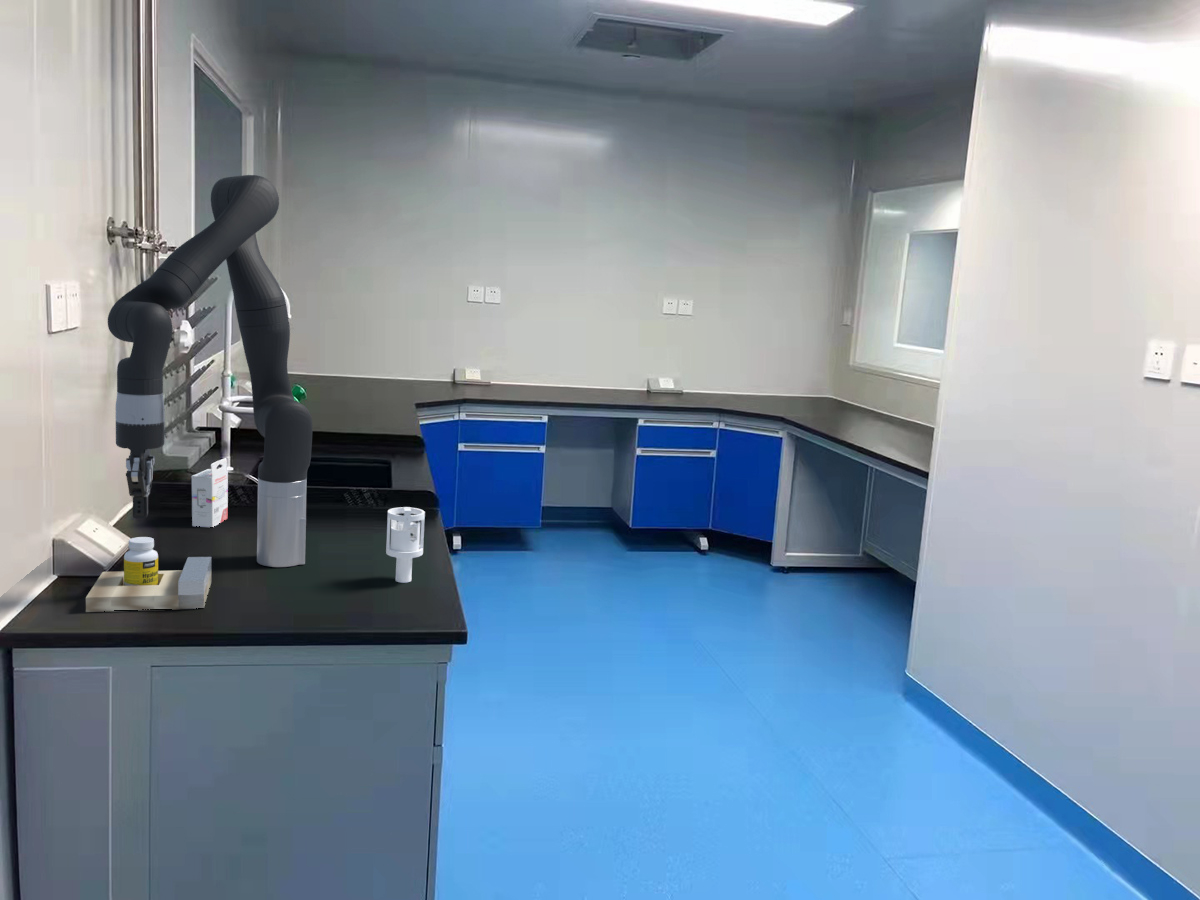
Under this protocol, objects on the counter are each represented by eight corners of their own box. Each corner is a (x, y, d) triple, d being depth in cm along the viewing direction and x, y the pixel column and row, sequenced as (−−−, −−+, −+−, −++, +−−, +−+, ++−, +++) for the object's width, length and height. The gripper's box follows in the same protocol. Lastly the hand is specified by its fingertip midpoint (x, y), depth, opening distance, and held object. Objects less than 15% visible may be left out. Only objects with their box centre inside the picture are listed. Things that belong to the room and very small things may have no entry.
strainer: (385, 586, 178) (388, 510, 175) (384, 574, 184) (387, 501, 182) (423, 585, 180) (426, 510, 177) (420, 574, 186) (423, 501, 184)
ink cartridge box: (207, 517, 216) (207, 455, 214) (228, 519, 216) (228, 457, 214) (190, 526, 208) (190, 462, 205) (212, 528, 208) (212, 463, 205)
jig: (211, 582, 172) (211, 556, 171) (203, 608, 159) (203, 580, 158) (102, 585, 166) (102, 558, 166) (86, 612, 153) (85, 583, 152)
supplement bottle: (144, 599, 161) (144, 545, 159) (117, 595, 162) (116, 541, 160) (164, 590, 166) (164, 537, 164) (138, 586, 167) (137, 534, 165)
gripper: (158, 425, 154) (158, 527, 157) (169, 414, 166) (169, 508, 169) (108, 424, 151) (109, 527, 154) (123, 412, 164) (123, 508, 167)
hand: (140, 517), depth 162 cm, fingers closed
